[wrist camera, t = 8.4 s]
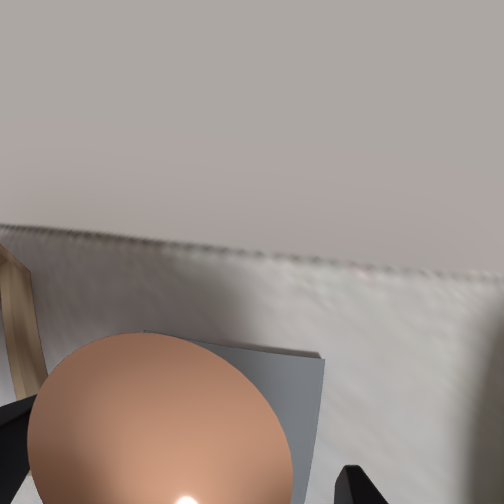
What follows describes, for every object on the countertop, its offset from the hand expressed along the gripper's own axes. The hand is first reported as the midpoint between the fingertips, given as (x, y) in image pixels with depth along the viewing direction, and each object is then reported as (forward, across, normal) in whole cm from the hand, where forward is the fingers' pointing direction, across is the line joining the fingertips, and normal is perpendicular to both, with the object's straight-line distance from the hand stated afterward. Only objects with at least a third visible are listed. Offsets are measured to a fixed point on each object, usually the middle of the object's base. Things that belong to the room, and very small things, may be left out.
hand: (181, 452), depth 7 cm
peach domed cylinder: (+5, 0, +5) cm, 8 cm away
